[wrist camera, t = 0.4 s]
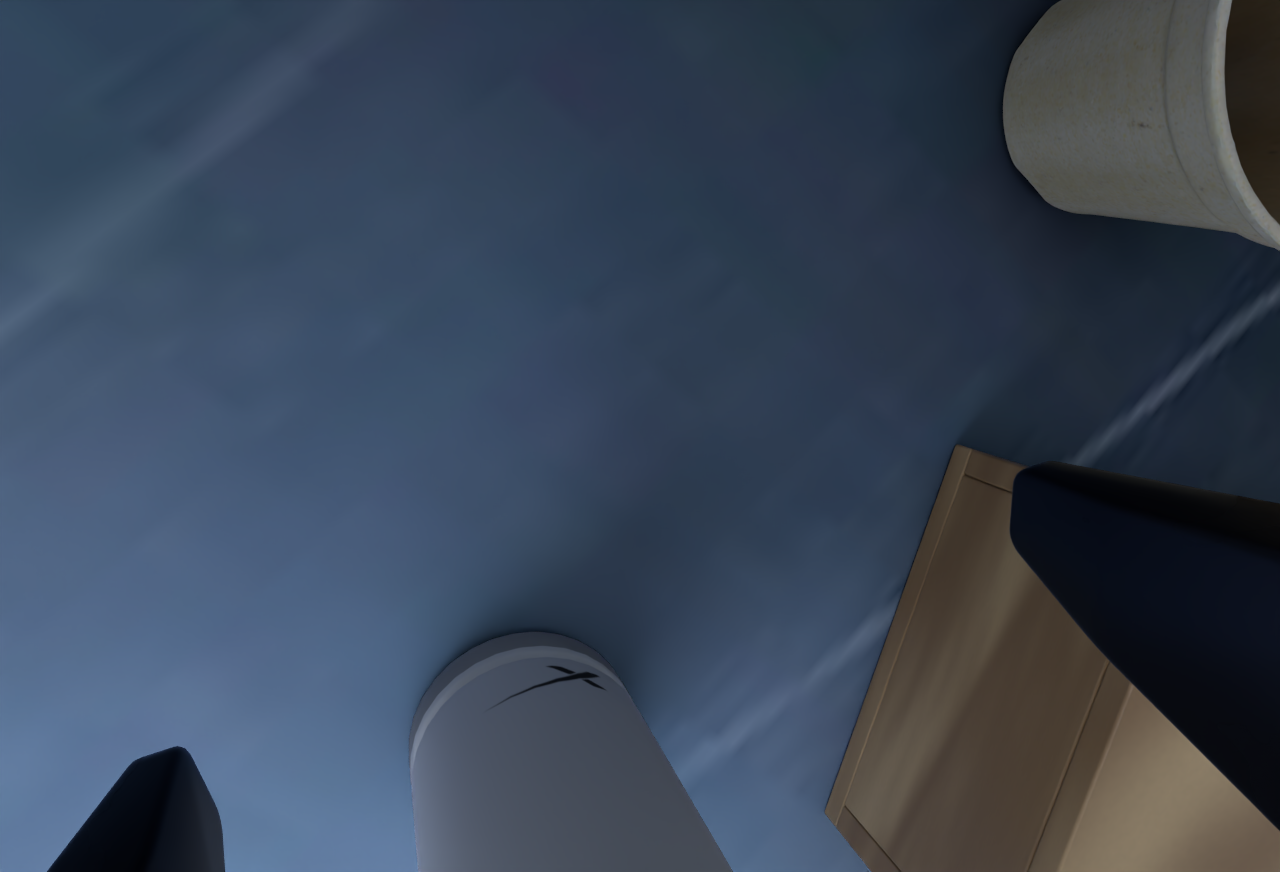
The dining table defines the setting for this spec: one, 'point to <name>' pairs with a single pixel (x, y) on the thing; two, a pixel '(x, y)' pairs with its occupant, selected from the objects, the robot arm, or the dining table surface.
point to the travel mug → (545, 769)
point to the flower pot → (1153, 112)
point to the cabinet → (1020, 727)
